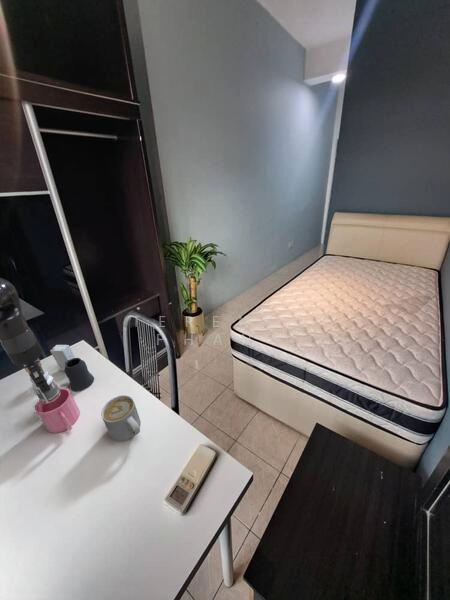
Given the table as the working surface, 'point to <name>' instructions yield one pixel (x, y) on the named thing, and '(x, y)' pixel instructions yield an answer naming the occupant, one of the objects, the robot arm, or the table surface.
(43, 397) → the pill bottle
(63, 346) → the cosmetic box
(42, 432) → the table surface
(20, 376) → the table surface
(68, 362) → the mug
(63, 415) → the pink ribbed cup
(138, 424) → the coffee mug
